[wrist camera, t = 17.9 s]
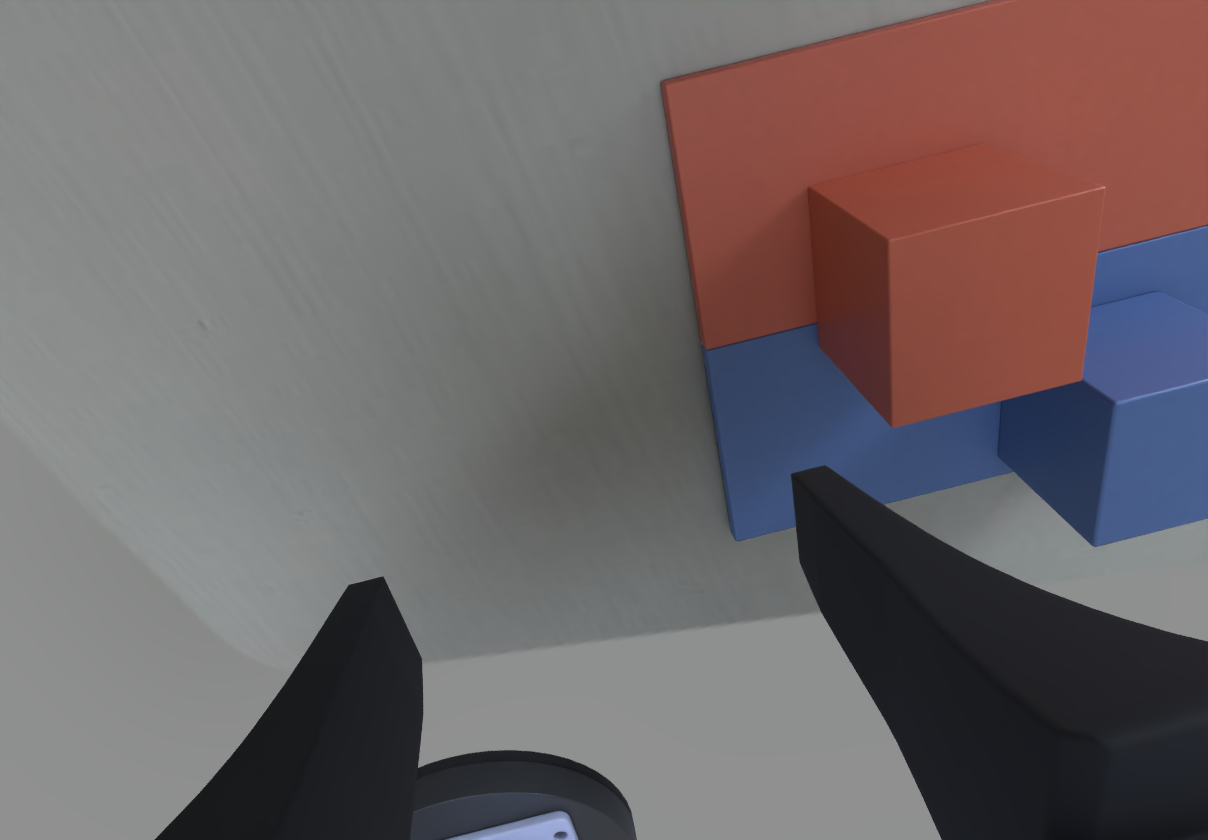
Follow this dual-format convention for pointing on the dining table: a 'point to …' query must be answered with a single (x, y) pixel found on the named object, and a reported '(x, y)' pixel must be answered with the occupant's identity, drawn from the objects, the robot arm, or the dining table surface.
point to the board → (901, 134)
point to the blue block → (1121, 425)
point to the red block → (955, 279)
